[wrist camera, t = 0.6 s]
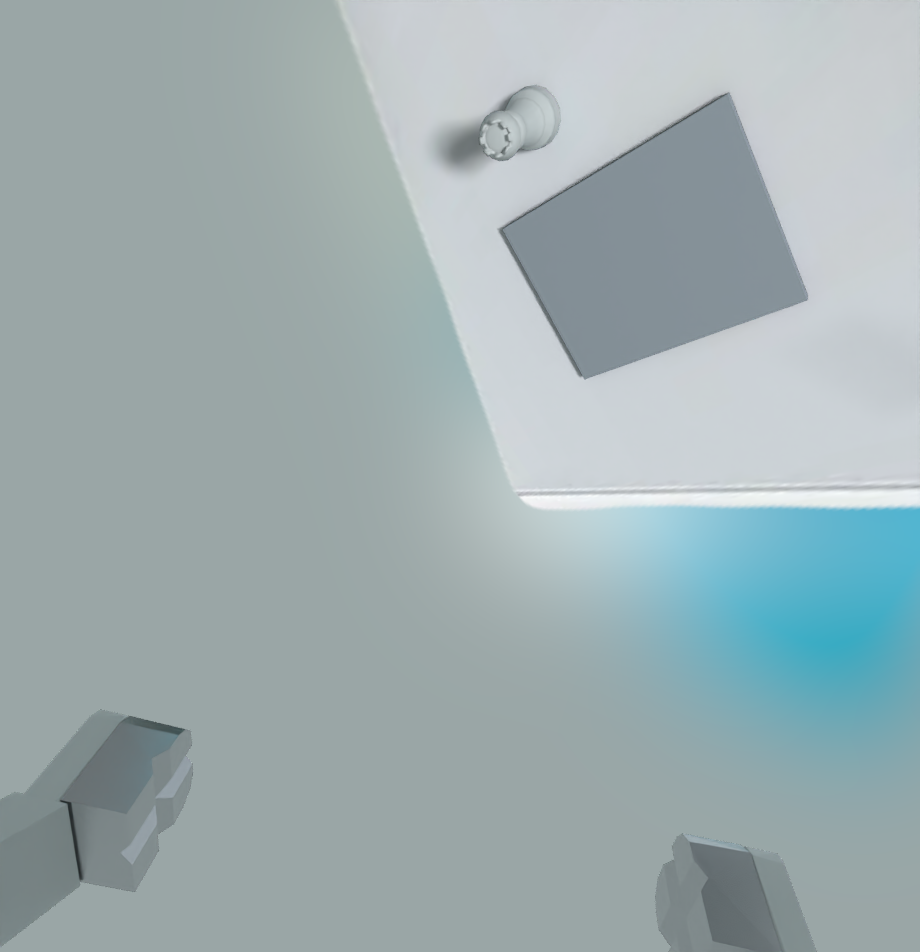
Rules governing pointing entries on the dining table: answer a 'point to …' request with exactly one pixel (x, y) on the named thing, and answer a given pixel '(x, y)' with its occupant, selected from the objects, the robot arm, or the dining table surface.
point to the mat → (660, 246)
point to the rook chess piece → (521, 124)
